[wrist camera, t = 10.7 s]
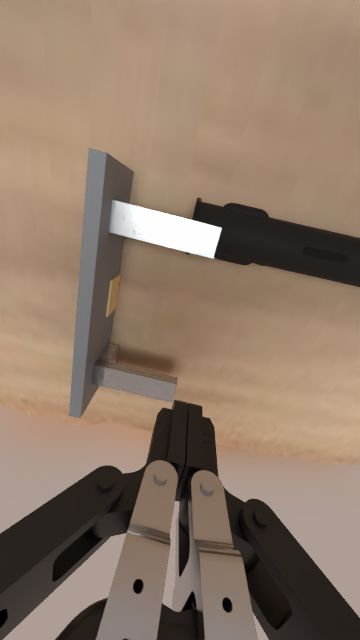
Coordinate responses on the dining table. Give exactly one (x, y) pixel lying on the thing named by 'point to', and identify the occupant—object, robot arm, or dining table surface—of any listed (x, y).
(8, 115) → the dining table surface
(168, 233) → the grey u-shaped bracket
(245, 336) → the dining table surface
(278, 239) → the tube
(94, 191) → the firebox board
